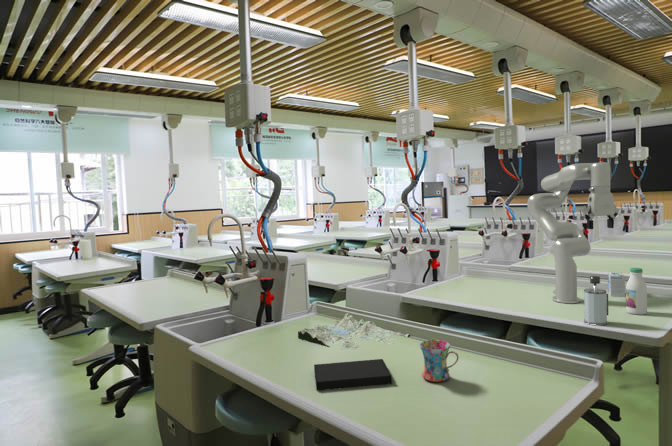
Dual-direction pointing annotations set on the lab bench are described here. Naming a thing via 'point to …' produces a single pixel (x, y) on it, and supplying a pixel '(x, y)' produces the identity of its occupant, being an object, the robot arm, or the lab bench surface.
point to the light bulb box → (616, 284)
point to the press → (595, 306)
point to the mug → (436, 360)
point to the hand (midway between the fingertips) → (600, 228)
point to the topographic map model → (346, 333)
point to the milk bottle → (636, 293)
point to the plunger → (595, 281)
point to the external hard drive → (351, 374)
